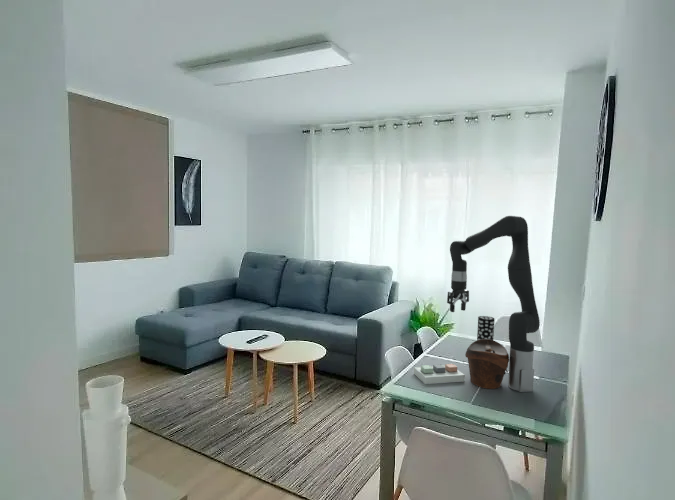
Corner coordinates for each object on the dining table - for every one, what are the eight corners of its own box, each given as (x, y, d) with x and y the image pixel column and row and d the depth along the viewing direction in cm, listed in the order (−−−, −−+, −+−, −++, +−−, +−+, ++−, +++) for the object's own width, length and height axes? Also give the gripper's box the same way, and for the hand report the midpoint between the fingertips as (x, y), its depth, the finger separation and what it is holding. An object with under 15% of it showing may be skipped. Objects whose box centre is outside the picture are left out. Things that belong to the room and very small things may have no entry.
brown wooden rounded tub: (482, 394, 161) (485, 352, 160) (455, 376, 181) (457, 338, 180) (518, 391, 166) (521, 350, 165) (488, 374, 185) (491, 336, 184)
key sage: (432, 372, 176) (433, 368, 176) (424, 373, 175) (424, 368, 175) (428, 369, 180) (429, 365, 179) (420, 369, 179) (421, 365, 179)
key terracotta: (457, 371, 178) (457, 367, 178) (449, 371, 177) (449, 367, 177) (452, 368, 182) (452, 363, 182) (444, 368, 181) (445, 364, 181)
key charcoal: (445, 372, 177) (445, 367, 177) (436, 372, 176) (437, 368, 176) (440, 368, 181) (441, 364, 181) (432, 369, 180) (433, 365, 180)
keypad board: (464, 381, 175) (464, 374, 175) (425, 384, 171) (425, 377, 171) (451, 371, 187) (451, 365, 186) (413, 373, 182) (414, 367, 182)
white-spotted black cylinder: (476, 355, 211) (478, 318, 210) (475, 350, 219) (477, 315, 218) (493, 357, 209) (495, 320, 207) (491, 352, 217) (493, 316, 215)
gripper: (455, 281, 193) (454, 314, 194) (473, 279, 201) (472, 311, 202) (443, 279, 200) (442, 311, 201) (461, 278, 208) (460, 308, 209)
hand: (457, 311), depth 201 cm, fingers open, 8 cm apart
